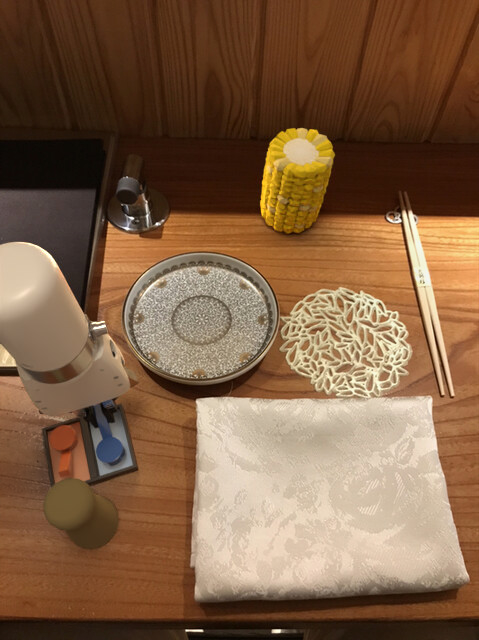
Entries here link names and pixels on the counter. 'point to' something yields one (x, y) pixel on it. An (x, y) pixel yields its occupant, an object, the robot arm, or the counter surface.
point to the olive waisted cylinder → (81, 513)
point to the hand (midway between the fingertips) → (102, 414)
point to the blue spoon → (107, 441)
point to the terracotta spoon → (64, 447)
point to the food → (295, 179)
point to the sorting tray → (91, 451)
